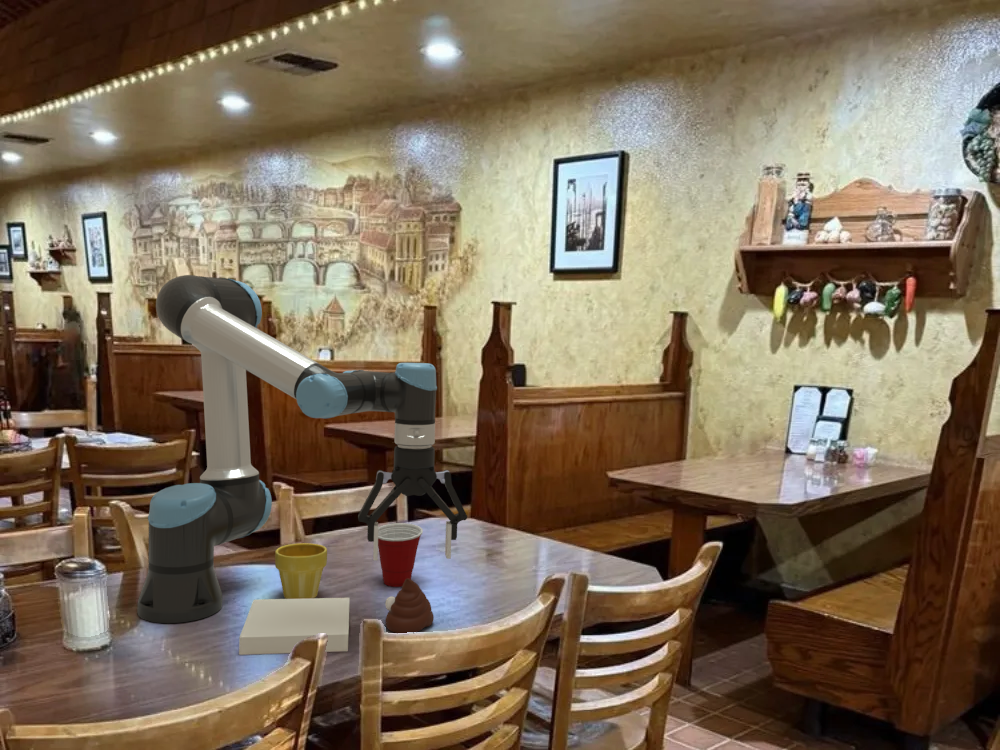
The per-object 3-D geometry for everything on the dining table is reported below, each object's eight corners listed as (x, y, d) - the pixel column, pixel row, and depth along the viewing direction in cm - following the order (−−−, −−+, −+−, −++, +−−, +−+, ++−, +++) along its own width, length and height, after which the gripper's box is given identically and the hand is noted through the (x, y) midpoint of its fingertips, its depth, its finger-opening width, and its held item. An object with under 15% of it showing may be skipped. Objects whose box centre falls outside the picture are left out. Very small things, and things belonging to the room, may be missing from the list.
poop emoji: (410, 639, 139) (412, 589, 139) (374, 628, 144) (375, 579, 143) (442, 623, 148) (444, 575, 147) (407, 612, 152) (409, 566, 152)
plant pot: (272, 589, 162) (273, 543, 161) (322, 585, 165) (323, 541, 165) (276, 607, 152) (277, 558, 152) (329, 602, 156) (330, 555, 155)
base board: (239, 654, 130) (239, 637, 130) (253, 614, 148) (253, 599, 147) (347, 651, 133) (348, 634, 133) (349, 612, 151) (349, 597, 151)
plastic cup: (361, 585, 167) (362, 530, 166) (390, 572, 177) (392, 520, 176) (402, 594, 162) (404, 538, 161) (430, 581, 172) (432, 528, 171)
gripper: (346, 448, 138) (344, 565, 139) (483, 448, 142) (480, 561, 144) (346, 442, 145) (344, 553, 146) (477, 442, 150) (474, 550, 151)
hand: (411, 557), depth 145 cm, fingers open, 13 cm apart
